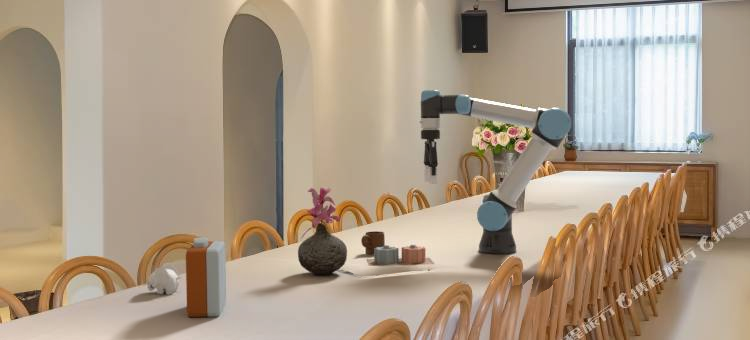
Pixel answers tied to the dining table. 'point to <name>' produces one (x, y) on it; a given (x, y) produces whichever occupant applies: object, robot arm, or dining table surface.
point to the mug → (373, 241)
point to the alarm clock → (205, 278)
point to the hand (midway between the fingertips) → (430, 182)
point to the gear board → (372, 263)
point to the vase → (322, 240)
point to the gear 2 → (413, 254)
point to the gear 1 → (386, 255)
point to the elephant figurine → (164, 279)
